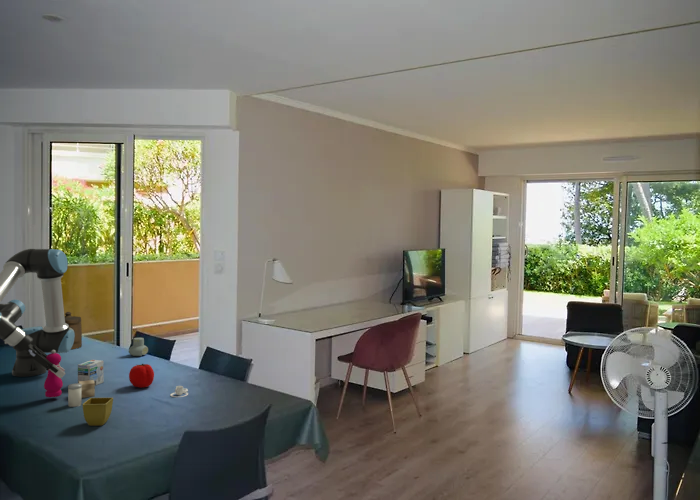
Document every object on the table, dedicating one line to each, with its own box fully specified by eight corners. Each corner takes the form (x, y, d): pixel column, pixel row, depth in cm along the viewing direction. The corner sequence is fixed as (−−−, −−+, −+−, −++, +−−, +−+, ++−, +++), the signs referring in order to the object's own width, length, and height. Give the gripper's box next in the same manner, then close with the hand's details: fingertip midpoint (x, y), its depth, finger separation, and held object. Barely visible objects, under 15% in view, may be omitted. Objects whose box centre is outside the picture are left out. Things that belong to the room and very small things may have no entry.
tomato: (145, 391, 258) (145, 367, 257) (123, 389, 260) (123, 365, 260) (159, 384, 270) (159, 361, 269) (138, 382, 272) (138, 359, 271)
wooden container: (49, 349, 339) (49, 313, 338) (65, 344, 353) (65, 309, 352) (71, 350, 336) (71, 314, 335) (86, 345, 351) (86, 310, 350)
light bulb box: (89, 388, 261) (89, 365, 260) (77, 387, 262) (77, 364, 261) (104, 382, 271) (104, 360, 271) (91, 381, 272) (91, 359, 272)
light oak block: (79, 398, 246) (79, 384, 246) (78, 394, 251) (78, 381, 251) (94, 396, 249) (94, 383, 248) (93, 392, 254) (93, 379, 254)
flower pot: (90, 419, 219) (90, 397, 219) (113, 419, 220) (113, 397, 219) (81, 428, 210) (81, 404, 210) (105, 427, 211) (105, 404, 210)
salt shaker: (72, 402, 239) (72, 383, 239) (84, 403, 239) (84, 383, 239) (65, 406, 234) (65, 386, 233) (77, 407, 234) (77, 387, 233)
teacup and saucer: (184, 391, 260) (184, 382, 260) (193, 395, 254) (193, 386, 254) (167, 395, 254) (167, 386, 254) (175, 399, 248) (175, 390, 248)
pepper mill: (66, 393, 246) (66, 348, 245) (52, 398, 239) (52, 352, 238) (53, 391, 248) (53, 347, 247) (40, 396, 241) (39, 350, 240)
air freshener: (136, 353, 333) (136, 336, 333) (149, 353, 332) (149, 337, 332) (126, 357, 323) (126, 340, 322) (140, 357, 321) (140, 340, 321)
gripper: (12, 342, 243) (55, 375, 252) (10, 351, 227) (56, 386, 236) (27, 329, 245) (68, 362, 254) (25, 337, 229) (70, 372, 238)
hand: (62, 374), depth 245 cm, fingers closed on pepper mill, 5 cm apart
